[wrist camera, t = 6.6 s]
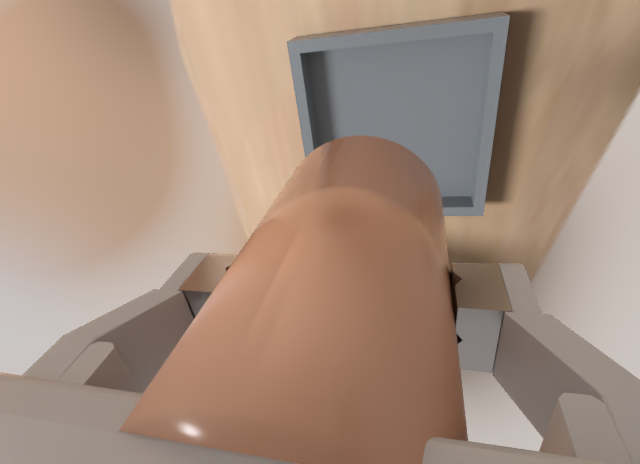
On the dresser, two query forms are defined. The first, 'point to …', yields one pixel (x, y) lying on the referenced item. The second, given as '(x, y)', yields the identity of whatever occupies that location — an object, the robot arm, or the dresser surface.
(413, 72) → the tray
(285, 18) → the dresser surface
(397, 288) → the pinkish-tan rounded block
